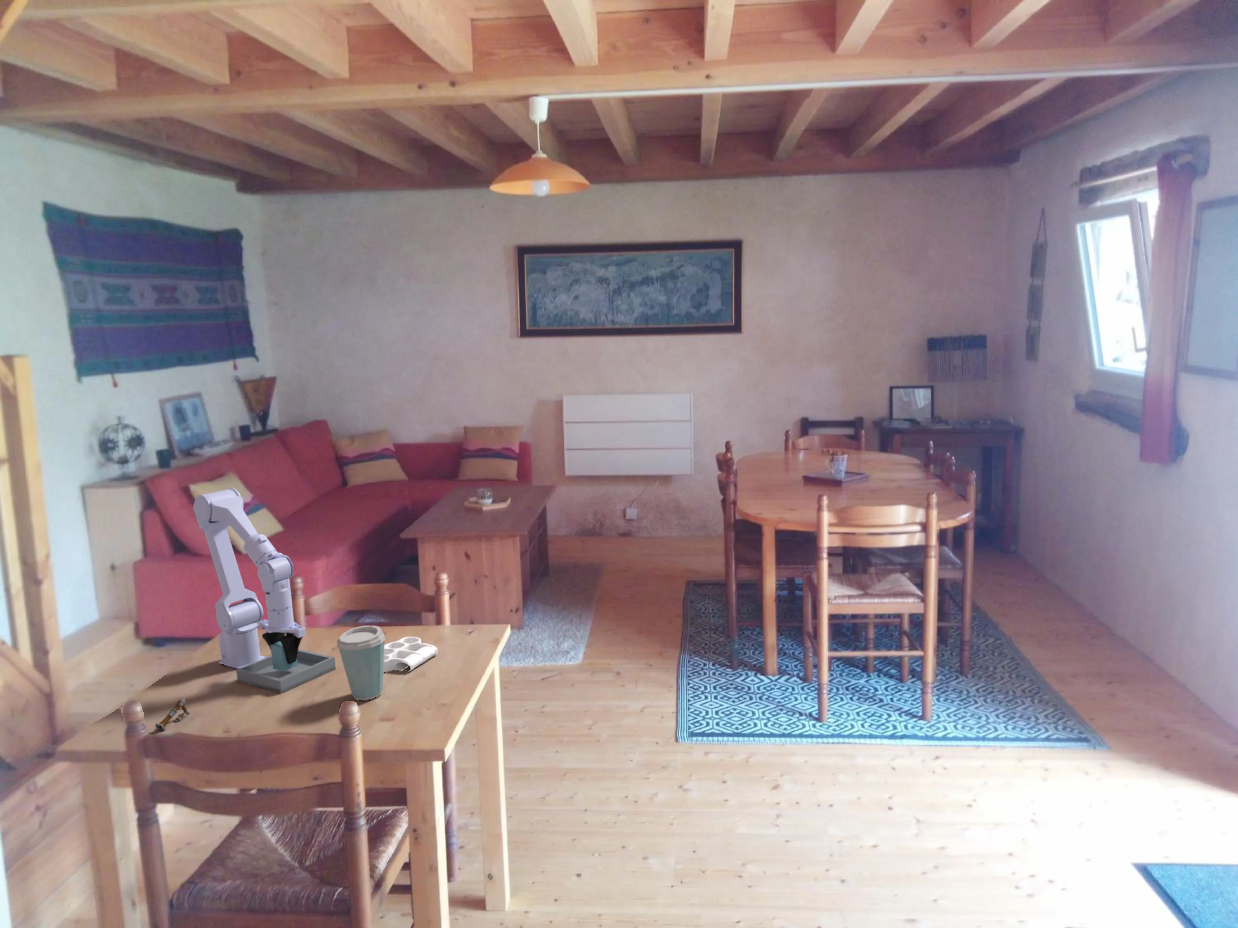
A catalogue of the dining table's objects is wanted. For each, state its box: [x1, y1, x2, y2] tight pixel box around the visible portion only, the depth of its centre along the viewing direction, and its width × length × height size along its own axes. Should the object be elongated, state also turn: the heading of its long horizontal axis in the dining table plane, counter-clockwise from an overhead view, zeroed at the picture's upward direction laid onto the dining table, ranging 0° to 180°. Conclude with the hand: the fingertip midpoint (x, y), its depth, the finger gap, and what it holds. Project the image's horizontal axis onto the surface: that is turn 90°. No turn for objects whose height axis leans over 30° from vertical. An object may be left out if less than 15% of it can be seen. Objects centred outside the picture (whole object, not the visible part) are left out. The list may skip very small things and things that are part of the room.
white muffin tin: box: [383, 636, 439, 674], centre depth 230 cm, size 3×18×15 cm
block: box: [270, 642, 298, 671], centre depth 223 cm, size 4×4×6 cm
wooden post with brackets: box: [154, 697, 191, 731], centre depth 200 cm, size 2×8×4 cm, turn 160°
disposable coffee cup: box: [336, 625, 387, 701], centre depth 209 cm, size 11×11×15 cm
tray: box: [236, 648, 337, 694], centre depth 224 cm, size 16×16×3 cm
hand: (285, 660), depth 224 cm, fingers closed on block, 4 cm apart
